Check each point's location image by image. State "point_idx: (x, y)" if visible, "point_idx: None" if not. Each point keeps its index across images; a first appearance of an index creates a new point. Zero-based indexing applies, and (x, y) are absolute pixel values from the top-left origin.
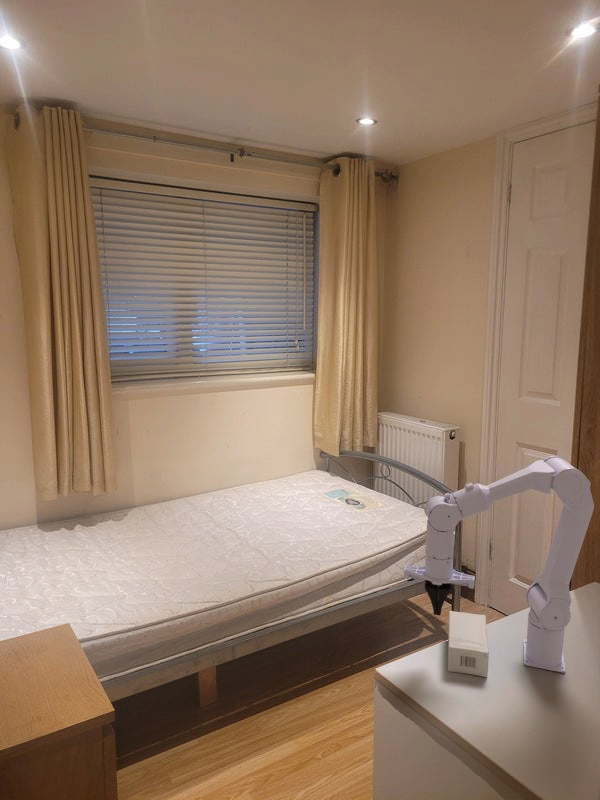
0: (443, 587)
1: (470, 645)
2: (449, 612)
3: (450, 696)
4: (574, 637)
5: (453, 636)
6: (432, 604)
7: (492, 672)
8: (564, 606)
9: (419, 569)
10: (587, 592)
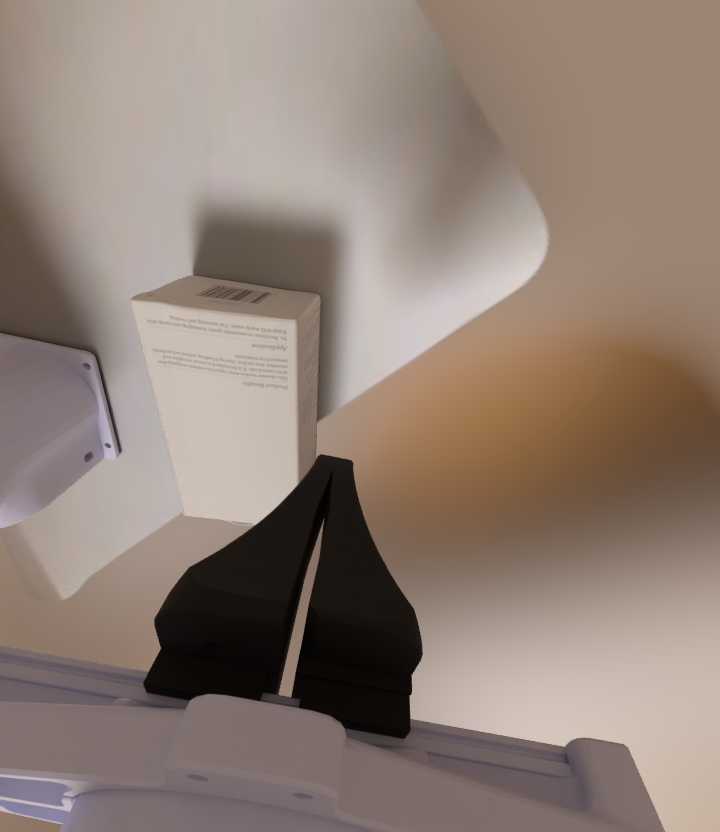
0: (225, 637)
1: (207, 339)
2: None
3: (315, 125)
4: None
5: (280, 395)
6: (356, 501)
7: None
8: None
9: None
10: (38, 600)
